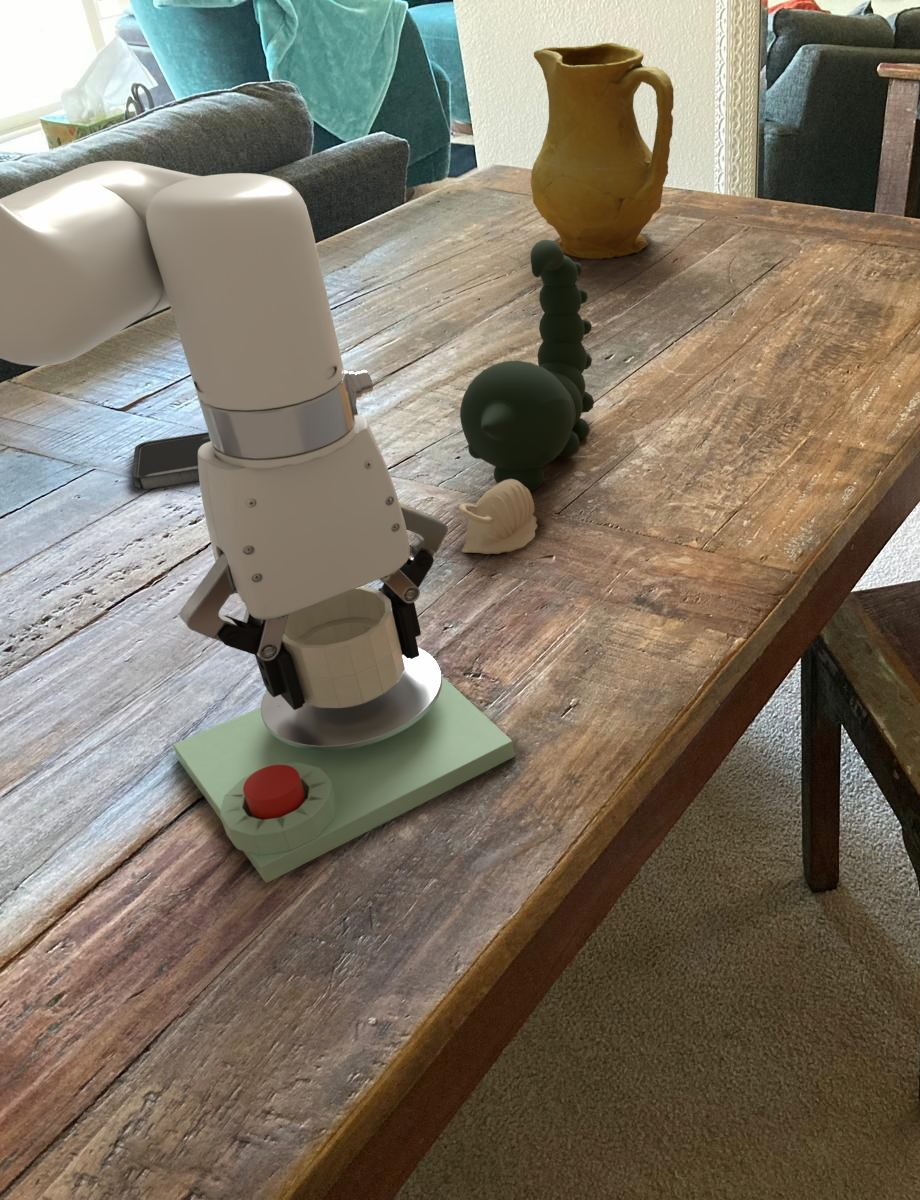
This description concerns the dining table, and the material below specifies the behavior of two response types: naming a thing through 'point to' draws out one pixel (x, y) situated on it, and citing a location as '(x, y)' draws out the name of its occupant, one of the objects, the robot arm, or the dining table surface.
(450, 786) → the scale
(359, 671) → the bowl
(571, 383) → the toy figurine
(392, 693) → the scale pan
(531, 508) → the decorative ornament
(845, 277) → the dining table surface
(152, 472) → the phone
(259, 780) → the tare button
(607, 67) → the pitcher
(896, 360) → the dining table surface
